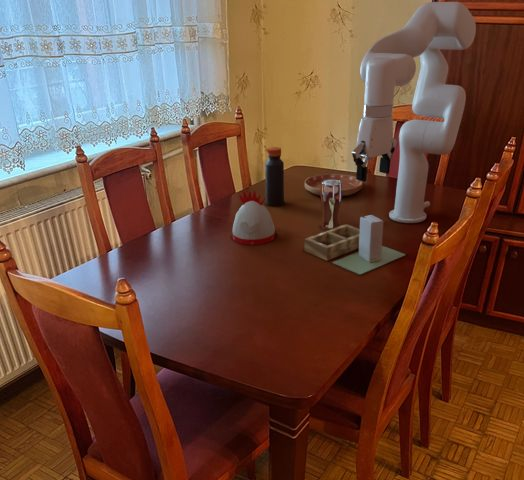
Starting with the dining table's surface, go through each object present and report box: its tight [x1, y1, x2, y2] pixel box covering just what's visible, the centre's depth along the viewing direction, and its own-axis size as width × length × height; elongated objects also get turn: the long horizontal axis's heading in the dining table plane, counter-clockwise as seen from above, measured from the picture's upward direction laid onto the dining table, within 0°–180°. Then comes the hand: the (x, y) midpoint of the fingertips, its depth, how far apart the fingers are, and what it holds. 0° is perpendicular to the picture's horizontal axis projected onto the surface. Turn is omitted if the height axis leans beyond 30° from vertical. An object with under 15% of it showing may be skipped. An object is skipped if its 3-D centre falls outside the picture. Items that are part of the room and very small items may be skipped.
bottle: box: [264, 146, 285, 207], centre depth 199 cm, size 7×7×20 cm
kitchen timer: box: [232, 190, 276, 246], centre depth 174 cm, size 14×14×15 cm
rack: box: [303, 223, 360, 261], centre depth 167 cm, size 18×10×4 cm, turn 129°
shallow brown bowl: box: [304, 173, 364, 197], centre depth 214 cm, size 23×23×4 cm
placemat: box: [332, 245, 407, 276], centre depth 160 cm, size 20×11×1 cm, turn 129°
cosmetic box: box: [358, 214, 384, 262], centre depth 157 cm, size 6×4×12 cm
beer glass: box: [319, 179, 343, 231], centre depth 179 cm, size 7×7×15 cm
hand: (372, 176), depth 152 cm, fingers open, 9 cm apart
